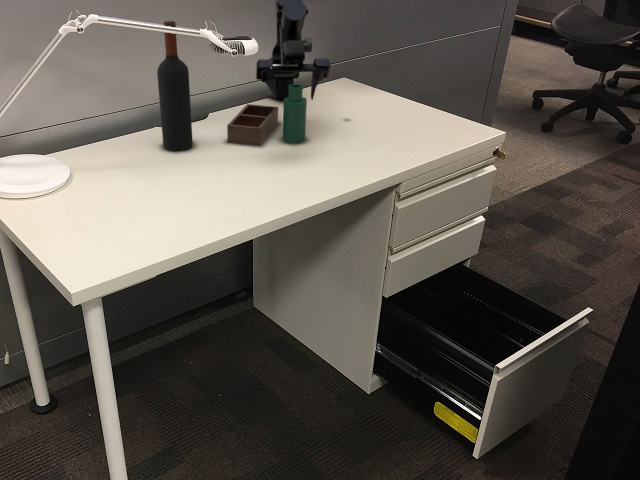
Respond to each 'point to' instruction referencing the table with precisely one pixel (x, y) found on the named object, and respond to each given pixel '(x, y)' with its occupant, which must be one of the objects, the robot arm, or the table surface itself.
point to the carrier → (252, 124)
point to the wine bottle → (174, 97)
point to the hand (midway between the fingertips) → (294, 99)
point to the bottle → (294, 115)
